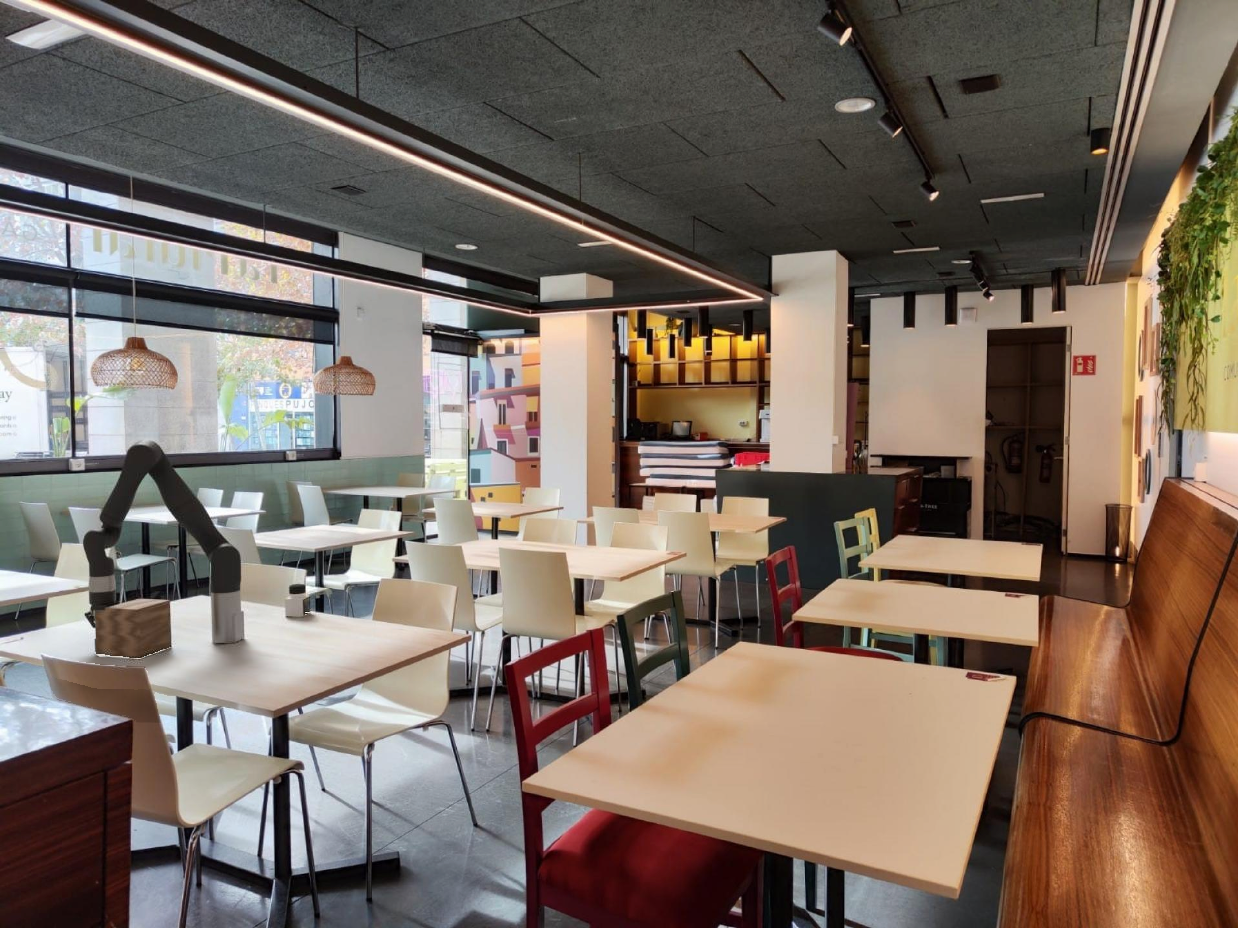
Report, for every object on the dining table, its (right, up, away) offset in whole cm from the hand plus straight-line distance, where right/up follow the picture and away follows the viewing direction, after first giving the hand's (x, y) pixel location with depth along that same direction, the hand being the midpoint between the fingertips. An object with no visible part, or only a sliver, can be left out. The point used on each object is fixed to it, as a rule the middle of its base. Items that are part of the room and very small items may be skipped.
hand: (103, 640), depth 277 cm
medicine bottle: (+45, 0, +49) cm, 67 cm away
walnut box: (+12, -3, -3) cm, 12 cm away
